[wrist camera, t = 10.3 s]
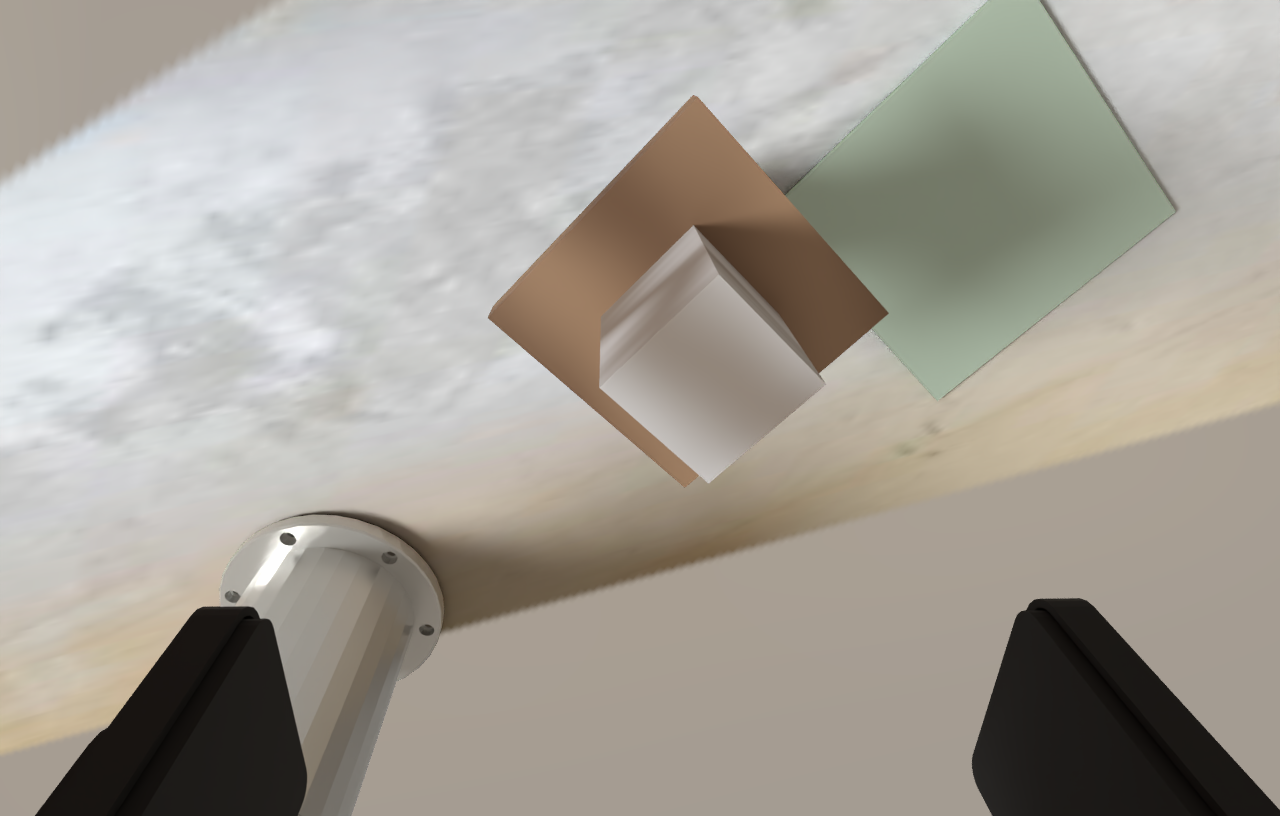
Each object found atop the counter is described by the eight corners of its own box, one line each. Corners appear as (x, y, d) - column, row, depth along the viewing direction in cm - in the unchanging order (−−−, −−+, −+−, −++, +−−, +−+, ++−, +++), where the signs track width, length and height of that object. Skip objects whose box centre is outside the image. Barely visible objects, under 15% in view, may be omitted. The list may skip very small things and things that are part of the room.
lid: (681, 470, 27) (703, 589, 21) (493, 306, 24) (454, 389, 18) (876, 302, 24) (964, 382, 18) (693, 95, 21) (726, 109, 15)
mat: (934, 398, 40) (937, 400, 39) (766, 212, 35) (768, 214, 35) (1170, 210, 36) (1175, 211, 35) (1016, -27, 31) (1021, -28, 31)
